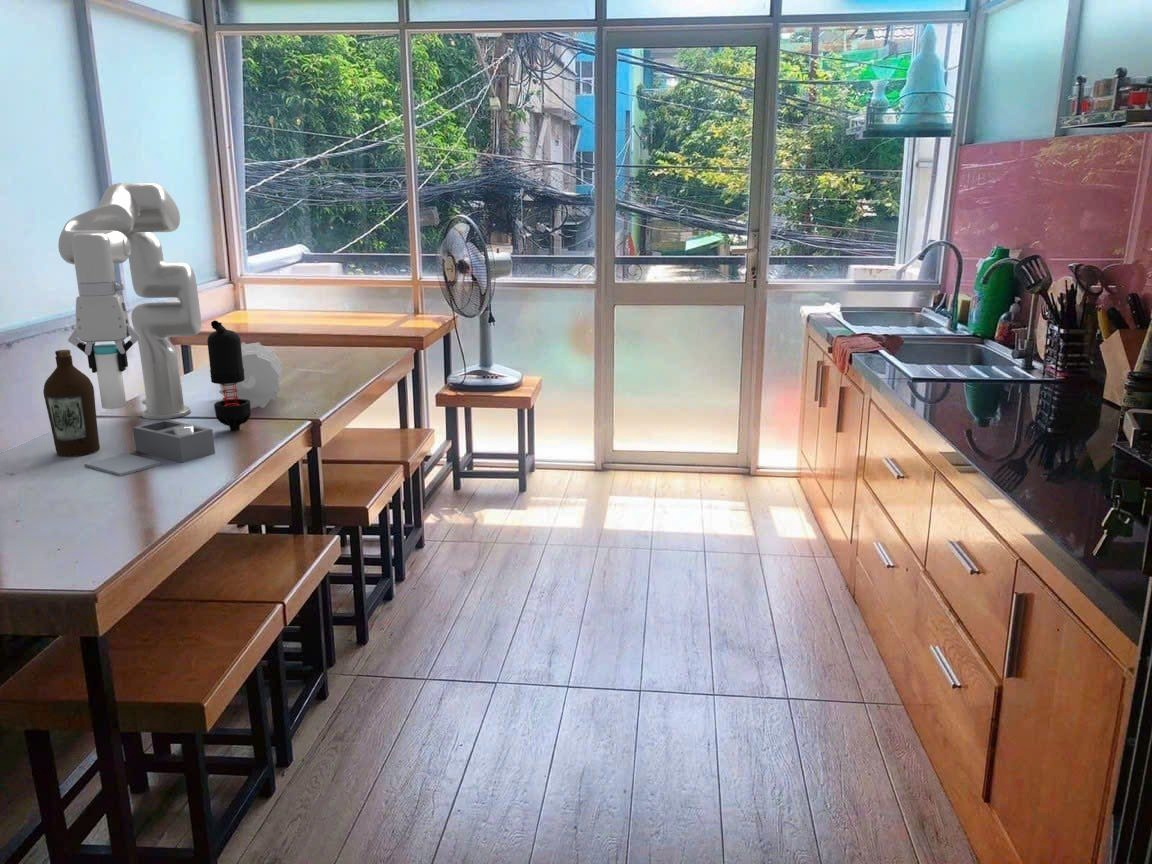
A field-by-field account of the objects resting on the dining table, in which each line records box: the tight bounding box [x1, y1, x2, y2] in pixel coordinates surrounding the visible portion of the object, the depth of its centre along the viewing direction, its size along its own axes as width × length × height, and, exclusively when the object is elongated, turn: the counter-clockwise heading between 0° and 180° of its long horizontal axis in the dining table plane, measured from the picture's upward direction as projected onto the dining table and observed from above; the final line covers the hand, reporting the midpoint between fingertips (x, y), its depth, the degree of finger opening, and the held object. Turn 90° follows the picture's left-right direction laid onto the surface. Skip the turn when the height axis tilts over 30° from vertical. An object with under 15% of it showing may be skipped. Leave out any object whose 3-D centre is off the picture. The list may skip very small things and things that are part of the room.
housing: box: [132, 419, 216, 463], centre depth 218 cm, size 18×9×6 cm, turn 59°
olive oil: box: [43, 349, 101, 458], centre depth 216 cm, size 11×11×25 cm
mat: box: [84, 452, 162, 477], centre depth 209 cm, size 14×10×1 cm
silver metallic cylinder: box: [174, 424, 195, 436], centre depth 216 cm, size 4×4×5 cm
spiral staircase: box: [218, 341, 283, 410], centre depth 265 cm, size 18×18×25 cm
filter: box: [206, 320, 252, 432], centre depth 236 cm, size 14×9×30 cm
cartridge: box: [93, 343, 127, 410], centre depth 203 cm, size 5×5×14 cm
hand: (109, 370), depth 203 cm, fingers closed on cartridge, 5 cm apart
